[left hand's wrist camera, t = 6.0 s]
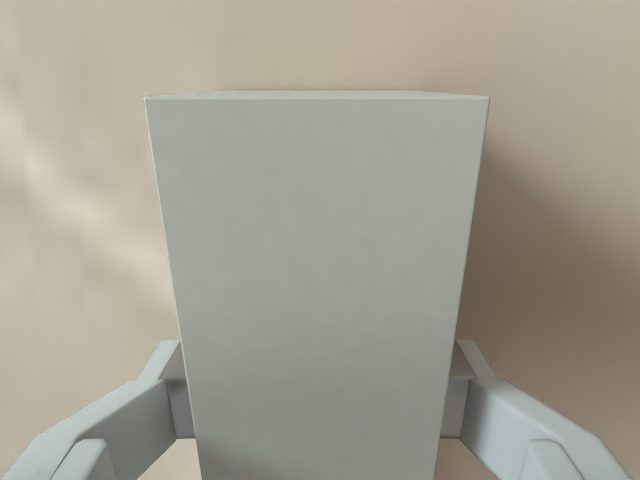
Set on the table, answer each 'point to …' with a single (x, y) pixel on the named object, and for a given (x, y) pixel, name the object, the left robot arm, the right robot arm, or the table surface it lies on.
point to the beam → (317, 272)
